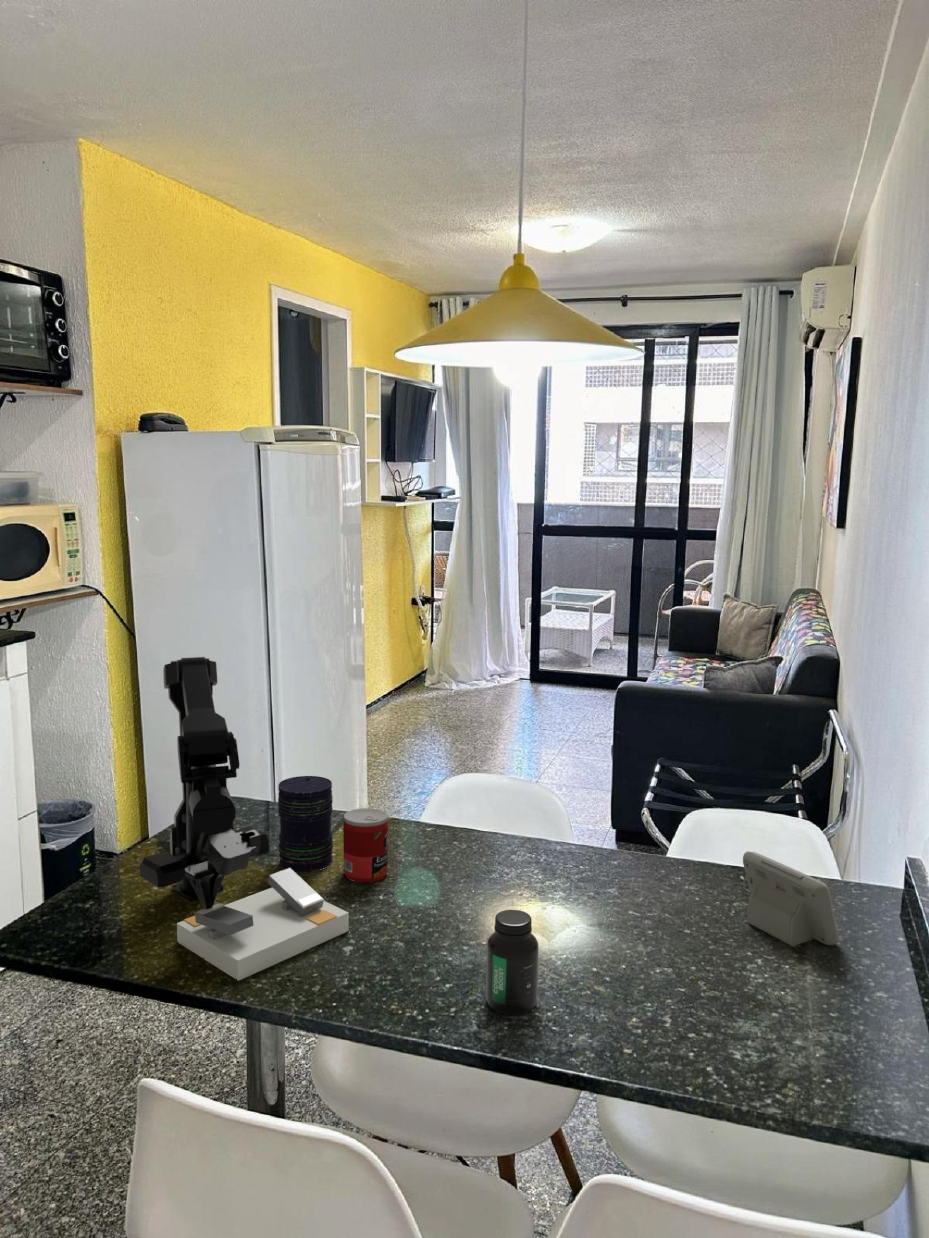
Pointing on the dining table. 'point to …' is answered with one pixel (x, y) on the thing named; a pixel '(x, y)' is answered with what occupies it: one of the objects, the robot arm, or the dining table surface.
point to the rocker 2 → (295, 891)
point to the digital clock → (788, 902)
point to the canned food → (365, 844)
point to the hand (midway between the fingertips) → (207, 909)
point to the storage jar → (305, 823)
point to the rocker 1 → (224, 919)
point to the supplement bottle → (512, 964)
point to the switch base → (263, 934)
